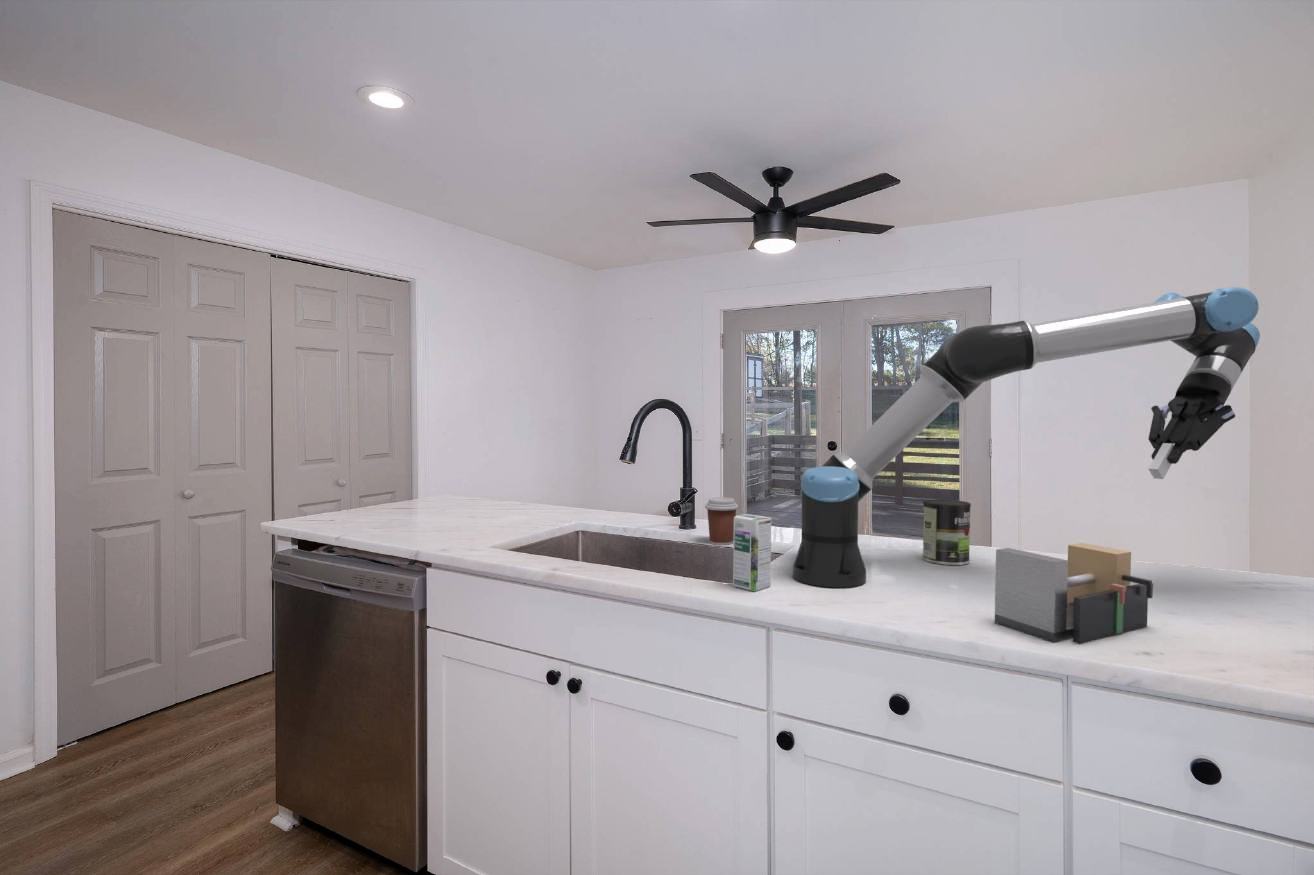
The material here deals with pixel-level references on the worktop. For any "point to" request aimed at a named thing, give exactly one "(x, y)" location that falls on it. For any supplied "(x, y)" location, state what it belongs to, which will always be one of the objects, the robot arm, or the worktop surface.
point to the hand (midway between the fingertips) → (1155, 473)
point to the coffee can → (946, 532)
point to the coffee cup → (721, 520)
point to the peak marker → (1121, 592)
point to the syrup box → (752, 552)
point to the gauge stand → (1060, 601)
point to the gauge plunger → (1099, 570)
